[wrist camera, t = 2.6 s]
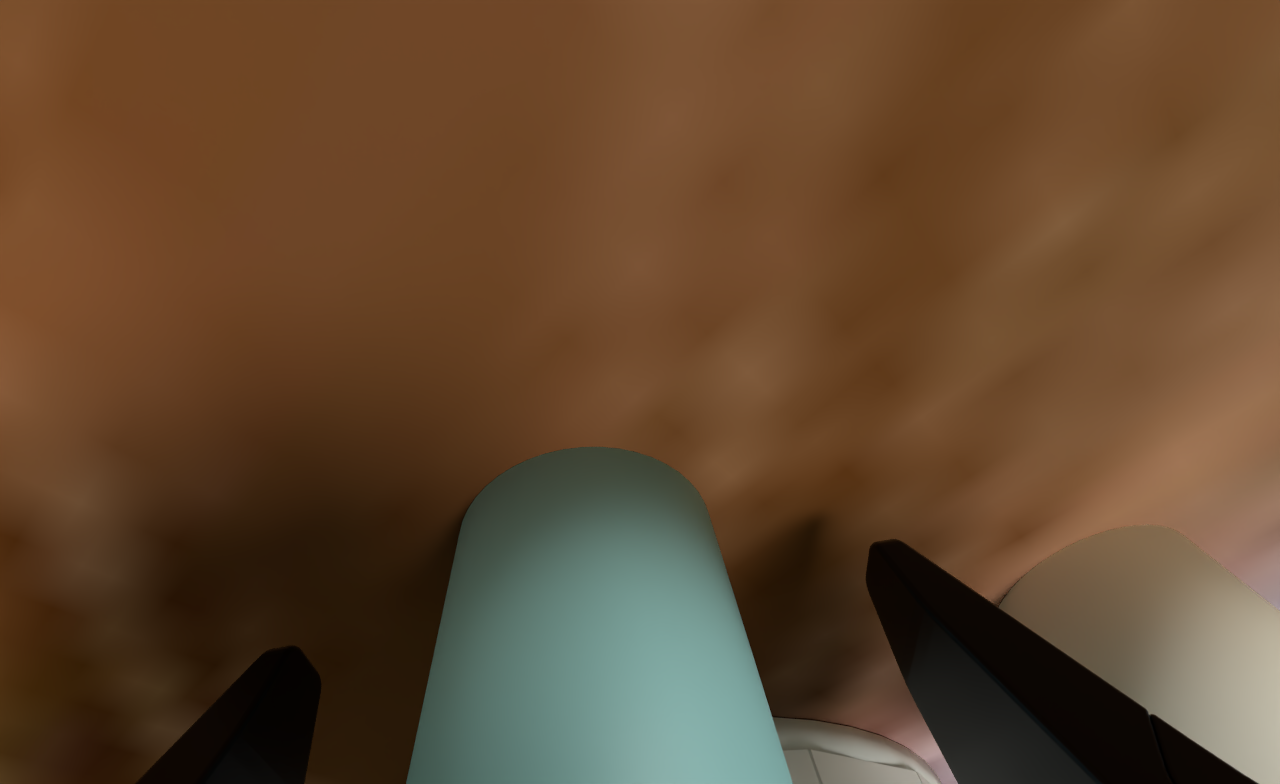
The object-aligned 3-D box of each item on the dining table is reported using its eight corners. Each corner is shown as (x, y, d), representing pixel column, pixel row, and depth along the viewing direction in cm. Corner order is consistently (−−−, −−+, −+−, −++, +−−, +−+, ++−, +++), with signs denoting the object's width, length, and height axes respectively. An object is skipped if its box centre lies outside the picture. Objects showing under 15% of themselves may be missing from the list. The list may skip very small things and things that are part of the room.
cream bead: (1229, 560, 12) (1573, 824, 8) (1069, 672, 14) (1283, 938, 10) (1117, 497, 11) (1469, 784, 7) (952, 632, 13) (1148, 926, 8)
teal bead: (759, 499, 10) (908, 843, 6) (634, 647, 12) (675, 992, 7) (524, 406, 8) (482, 781, 4) (421, 593, 10) (318, 990, 6)
